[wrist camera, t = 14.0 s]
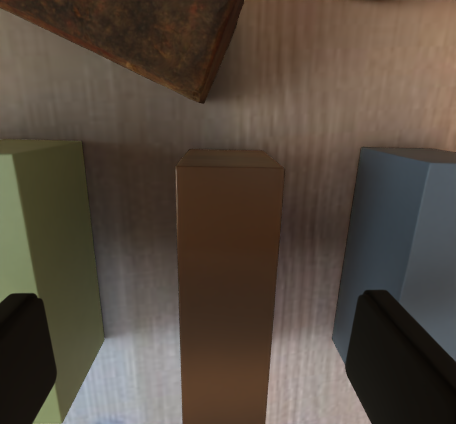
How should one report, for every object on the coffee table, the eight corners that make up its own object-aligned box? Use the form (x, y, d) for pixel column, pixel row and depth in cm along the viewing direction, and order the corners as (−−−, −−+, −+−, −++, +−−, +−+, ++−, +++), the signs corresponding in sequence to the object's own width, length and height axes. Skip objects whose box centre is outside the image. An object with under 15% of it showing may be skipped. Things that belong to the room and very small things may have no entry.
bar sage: (4, 138, 14) (-107, 151, 9) (82, 140, 14) (13, 153, 9) (41, 339, 17) (-26, 425, 13) (104, 339, 17) (62, 424, 13)
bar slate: (360, 147, 15) (430, 162, 10) (432, 148, 15) (535, 164, 10) (331, 339, 18) (373, 420, 13) (390, 339, 18) (452, 419, 13)
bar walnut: (188, 149, 14) (174, 165, 10) (263, 150, 15) (285, 168, 10) (191, 343, 18) (182, 427, 13) (252, 343, 18) (265, 426, 13)
